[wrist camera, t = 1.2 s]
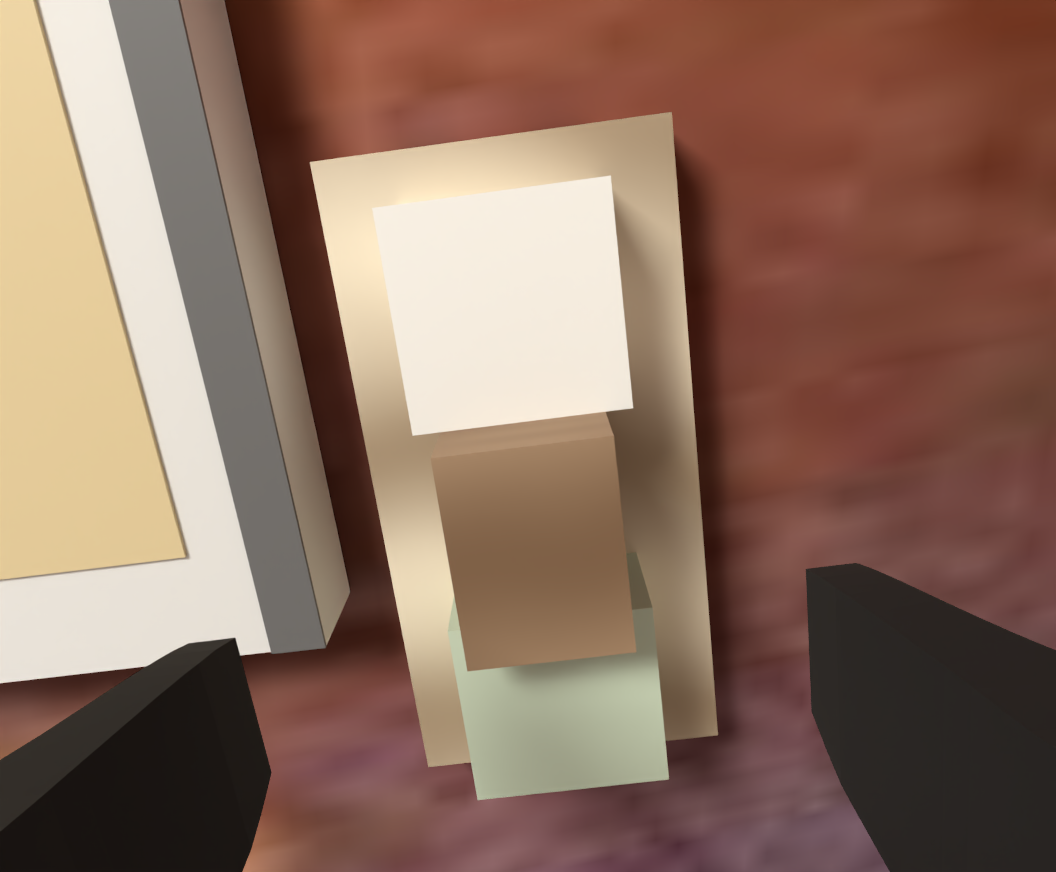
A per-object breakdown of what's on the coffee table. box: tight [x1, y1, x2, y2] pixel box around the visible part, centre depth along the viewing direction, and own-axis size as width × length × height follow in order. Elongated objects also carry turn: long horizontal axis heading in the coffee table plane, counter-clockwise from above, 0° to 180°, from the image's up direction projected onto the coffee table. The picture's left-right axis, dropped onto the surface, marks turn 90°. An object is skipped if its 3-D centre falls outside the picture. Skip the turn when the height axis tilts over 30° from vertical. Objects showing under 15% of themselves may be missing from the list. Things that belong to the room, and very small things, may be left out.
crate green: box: [448, 552, 669, 800], centre depth 18 cm, size 4×4×2 cm
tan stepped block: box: [310, 112, 718, 767], centre depth 17 cm, size 14×7×6 cm, turn 7°
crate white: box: [372, 176, 633, 436], centre depth 15 cm, size 4×4×2 cm
